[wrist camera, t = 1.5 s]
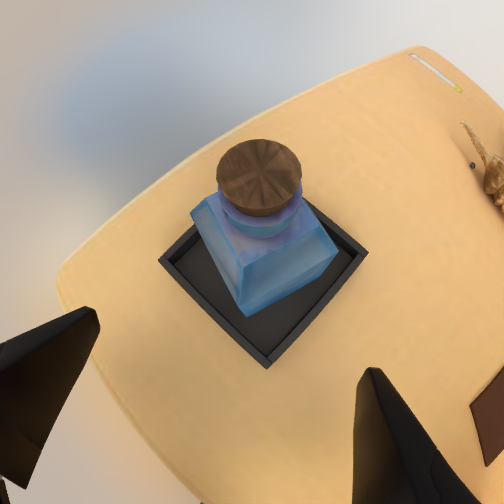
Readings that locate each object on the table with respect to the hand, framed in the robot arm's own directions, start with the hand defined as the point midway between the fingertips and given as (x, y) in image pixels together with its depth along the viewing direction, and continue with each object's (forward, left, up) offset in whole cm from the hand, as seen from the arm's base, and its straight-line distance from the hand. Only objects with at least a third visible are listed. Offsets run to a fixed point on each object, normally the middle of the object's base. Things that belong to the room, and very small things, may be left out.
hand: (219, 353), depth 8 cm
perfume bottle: (+5, +3, -12) cm, 14 cm away
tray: (+5, +4, -13) cm, 14 cm away
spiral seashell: (+30, -9, -13) cm, 34 cm away
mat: (+11, -26, -13) cm, 32 cm away
